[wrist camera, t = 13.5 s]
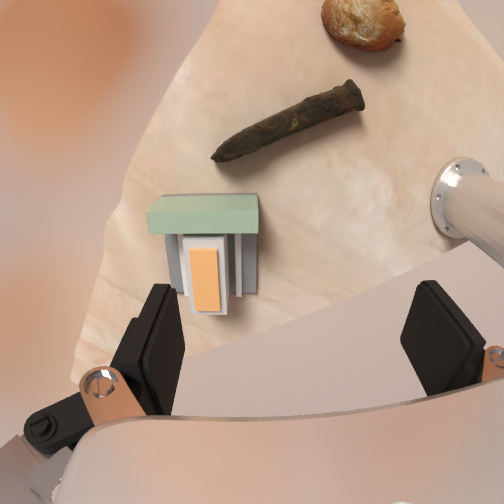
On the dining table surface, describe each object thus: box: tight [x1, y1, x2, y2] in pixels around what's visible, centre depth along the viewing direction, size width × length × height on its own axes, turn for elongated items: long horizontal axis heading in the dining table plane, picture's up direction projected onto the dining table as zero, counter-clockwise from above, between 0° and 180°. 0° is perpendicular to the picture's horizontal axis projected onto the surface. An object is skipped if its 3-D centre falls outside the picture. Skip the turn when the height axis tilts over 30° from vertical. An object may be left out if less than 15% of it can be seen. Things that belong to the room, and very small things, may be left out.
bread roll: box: [321, 0, 406, 52], centre depth 25 cm, size 10×10×8 cm
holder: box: [183, 233, 230, 315], centre depth 37 cm, size 4×10×7 cm, turn 0°
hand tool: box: [211, 79, 365, 162], centre depth 32 cm, size 19×4×5 cm, turn 114°
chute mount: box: [146, 193, 259, 297], centre depth 38 cm, size 12×14×7 cm
